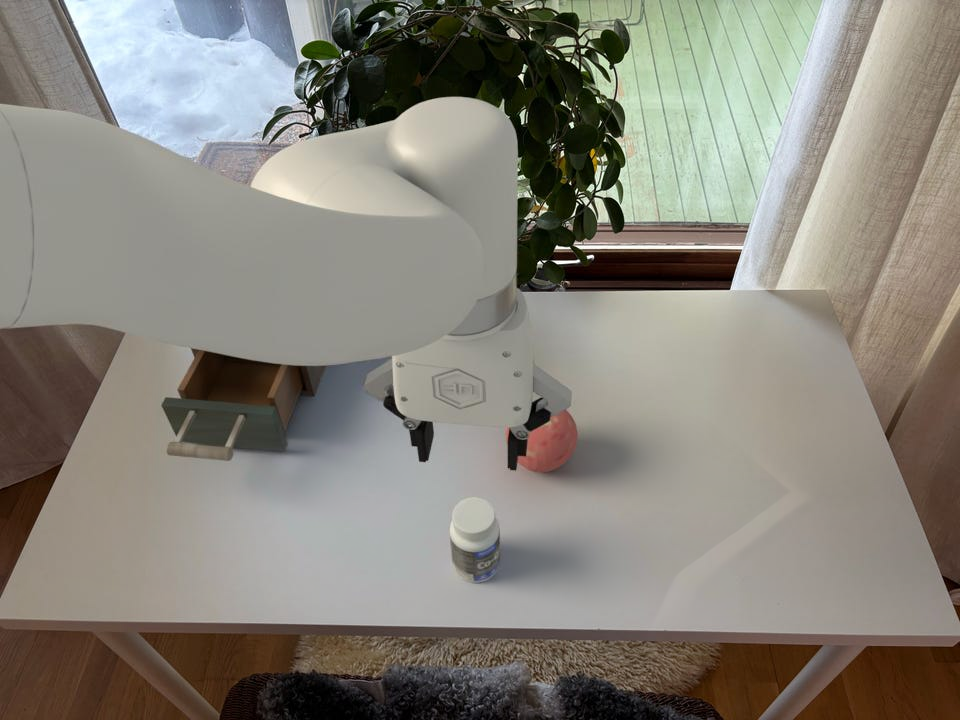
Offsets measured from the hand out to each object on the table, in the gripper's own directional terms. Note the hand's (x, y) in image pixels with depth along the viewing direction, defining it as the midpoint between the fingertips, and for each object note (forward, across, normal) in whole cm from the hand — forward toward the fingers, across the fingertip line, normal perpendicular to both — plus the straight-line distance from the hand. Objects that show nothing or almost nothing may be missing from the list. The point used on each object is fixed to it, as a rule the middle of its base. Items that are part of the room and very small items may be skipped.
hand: (470, 451), depth 65 cm
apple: (+18, +5, +14) cm, 23 cm away
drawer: (+17, -29, +14) cm, 36 cm away
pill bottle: (+18, 0, 0) cm, 18 cm away
